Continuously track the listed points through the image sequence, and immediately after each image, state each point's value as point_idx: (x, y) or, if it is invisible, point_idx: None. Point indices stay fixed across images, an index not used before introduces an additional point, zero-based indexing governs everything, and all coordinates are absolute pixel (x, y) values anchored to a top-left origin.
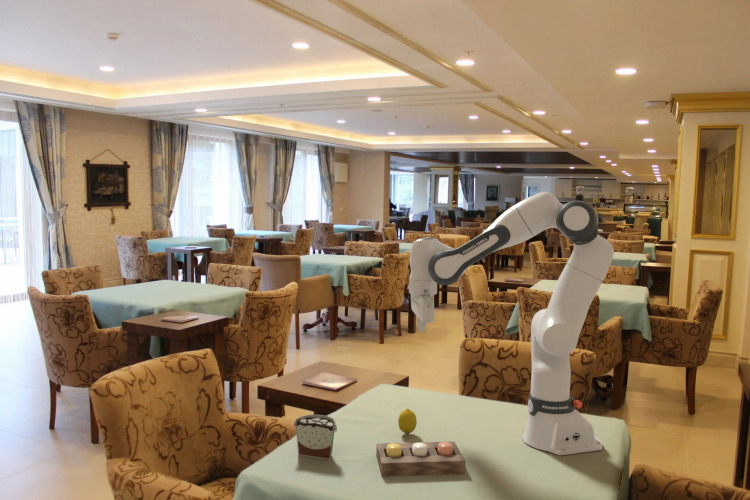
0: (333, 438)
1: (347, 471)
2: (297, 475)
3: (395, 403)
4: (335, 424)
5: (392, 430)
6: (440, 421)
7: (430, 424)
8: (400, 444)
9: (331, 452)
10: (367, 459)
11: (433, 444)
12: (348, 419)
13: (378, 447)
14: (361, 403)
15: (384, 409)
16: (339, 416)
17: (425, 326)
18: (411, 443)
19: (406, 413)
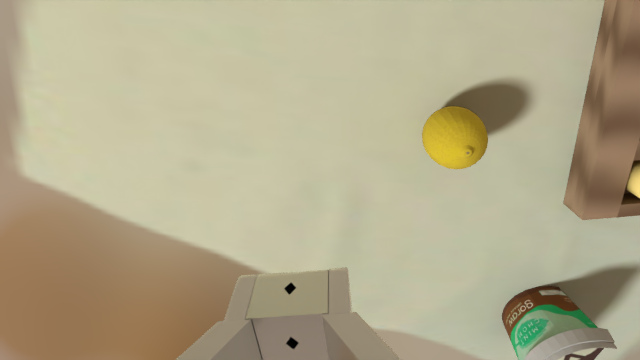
0: (579, 316)
1: (624, 256)
2: (611, 330)
3: (192, 146)
4: (596, 341)
5: (409, 162)
6: (338, 3)
7: (365, 43)
8: (606, 162)
9: (563, 296)
10: (577, 221)
11: (637, 65)
12: (333, 262)
13: (608, 216)
14: (213, 236)
15: (250, 179)
16: None
17: (348, 309)
18: (609, 132)
19: (480, 154)
